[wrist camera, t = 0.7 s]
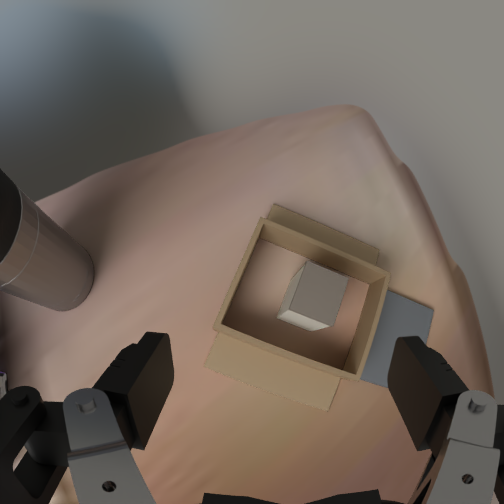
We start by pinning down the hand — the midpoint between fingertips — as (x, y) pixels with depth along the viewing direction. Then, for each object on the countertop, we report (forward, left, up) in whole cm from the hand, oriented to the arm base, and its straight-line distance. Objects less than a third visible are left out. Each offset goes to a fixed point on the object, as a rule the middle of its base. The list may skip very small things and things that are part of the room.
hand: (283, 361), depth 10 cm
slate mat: (+18, +8, -26) cm, 33 cm away
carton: (+4, +8, -26) cm, 28 cm away
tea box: (+4, +8, -26) cm, 28 cm away
